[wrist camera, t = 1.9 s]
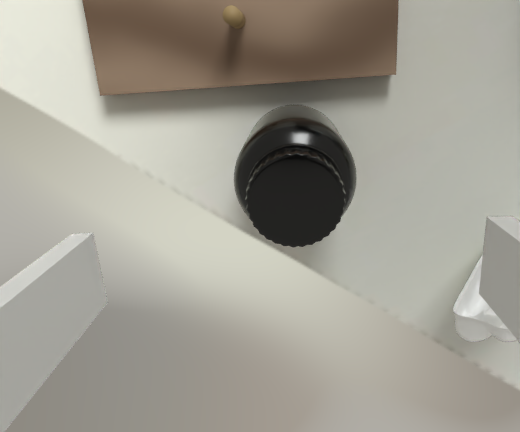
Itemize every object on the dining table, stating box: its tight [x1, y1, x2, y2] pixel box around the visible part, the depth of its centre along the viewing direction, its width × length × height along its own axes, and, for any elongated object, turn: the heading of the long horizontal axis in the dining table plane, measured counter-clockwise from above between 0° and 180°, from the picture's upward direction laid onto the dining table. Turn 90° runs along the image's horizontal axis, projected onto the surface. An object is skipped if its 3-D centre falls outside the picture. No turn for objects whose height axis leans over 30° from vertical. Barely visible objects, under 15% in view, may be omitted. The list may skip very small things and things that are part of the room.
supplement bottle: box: [234, 105, 356, 247], centre depth 26 cm, size 7×7×12 cm
